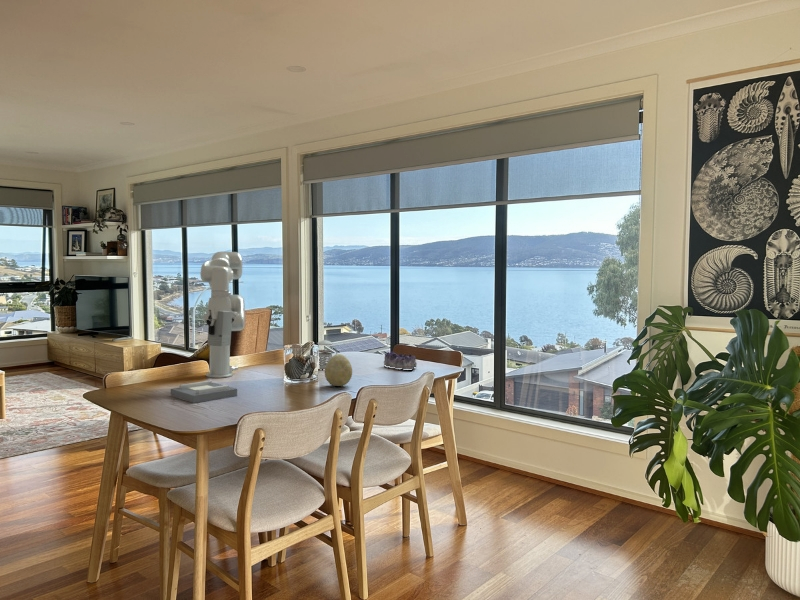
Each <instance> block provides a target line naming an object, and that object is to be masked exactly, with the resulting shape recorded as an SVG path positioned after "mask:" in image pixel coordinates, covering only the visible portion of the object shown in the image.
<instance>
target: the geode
mask: <svg viewBox="0 0 800 600" xmlns="http://www.w3.org/2000/svg"><path fill="white" fill-rule="evenodd" d="M384 365H386V366H390V367H395V368H402V369H413V368H414V367H416V368H417V360H416V356H415V355H413V354H412V355H411V354H402V353H400V354H397V353H395V351H393V350H392V351H390V352H388V351H387V353H384V361H383V366H384ZM414 369H415V368H414ZM414 369H413V370H414Z"/></svg>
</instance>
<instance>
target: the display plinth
mask: <svg viewBox="0 0 800 600" xmlns="http://www.w3.org/2000/svg"><path fill="white" fill-rule="evenodd" d="M178 386H179V387H174V388H170V397H173V398H176V399H179V400H183V401H186V402H189V403H193V404H198V403H203V402H209V401H210V402H211V401H215V399H216V400H220V399H221V398H222V399H227V397H228V398H232V397H238V388H236V387H231V386H230V385H228V384H220V383H216V382H212V381H211V380H204V381H198V382H197V381H196V382H190V383H183V384H179V385H178ZM222 399H221V400H222Z"/></svg>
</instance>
